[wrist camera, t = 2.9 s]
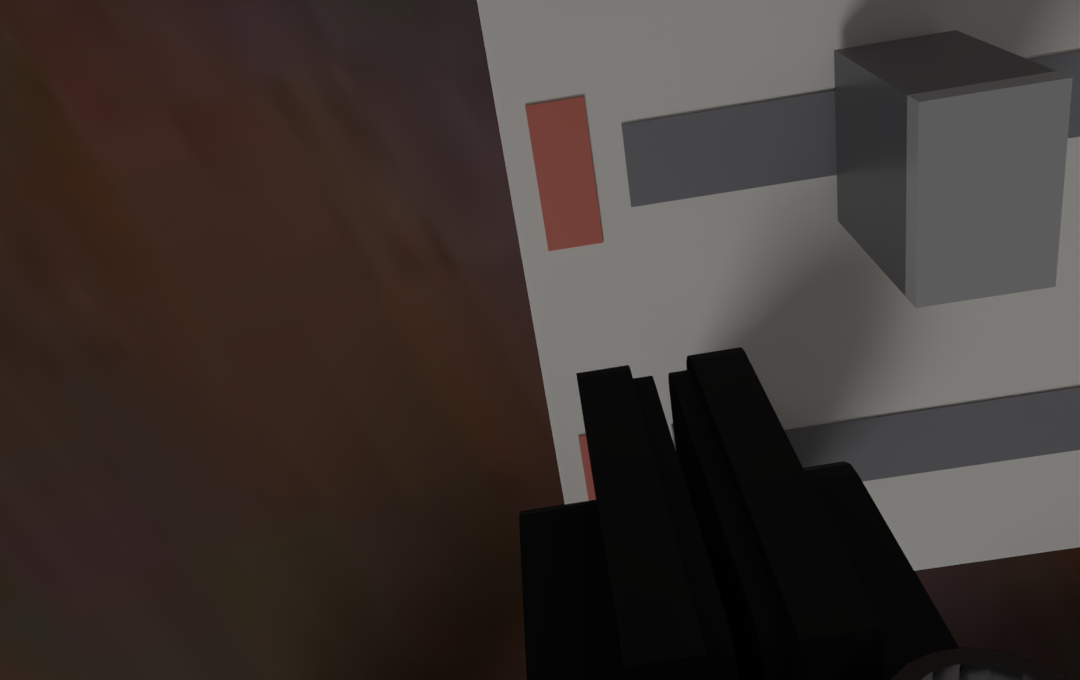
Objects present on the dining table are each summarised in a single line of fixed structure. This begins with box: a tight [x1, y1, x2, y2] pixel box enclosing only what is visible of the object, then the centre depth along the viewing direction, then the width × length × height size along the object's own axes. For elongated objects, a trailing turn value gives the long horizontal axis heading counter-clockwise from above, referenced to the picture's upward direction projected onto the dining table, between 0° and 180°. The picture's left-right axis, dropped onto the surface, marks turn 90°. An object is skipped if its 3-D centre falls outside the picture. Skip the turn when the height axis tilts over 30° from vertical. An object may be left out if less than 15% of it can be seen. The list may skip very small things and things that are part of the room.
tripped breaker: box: [834, 30, 1073, 308], centre depth 19 cm, size 2×4×4 cm, turn 9°
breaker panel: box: [477, 0, 1080, 571], centre depth 22 cm, size 16×24×3 cm, turn 9°
